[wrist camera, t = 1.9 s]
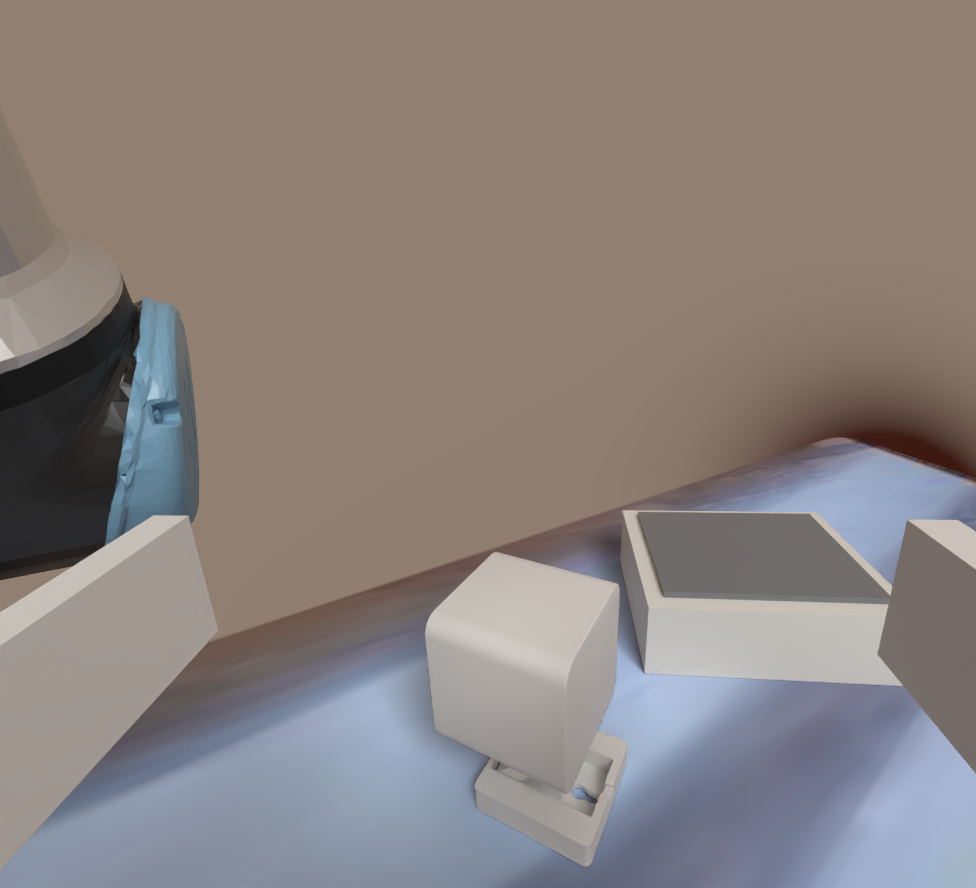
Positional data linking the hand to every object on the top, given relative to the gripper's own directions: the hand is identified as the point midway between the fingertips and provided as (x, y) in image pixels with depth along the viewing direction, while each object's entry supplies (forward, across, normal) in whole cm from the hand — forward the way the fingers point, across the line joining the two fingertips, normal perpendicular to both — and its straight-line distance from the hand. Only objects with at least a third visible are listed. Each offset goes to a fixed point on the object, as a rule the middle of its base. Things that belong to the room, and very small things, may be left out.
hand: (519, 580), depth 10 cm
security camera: (+10, 0, -18) cm, 20 cm away
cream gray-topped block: (+23, +13, -17) cm, 32 cm away
